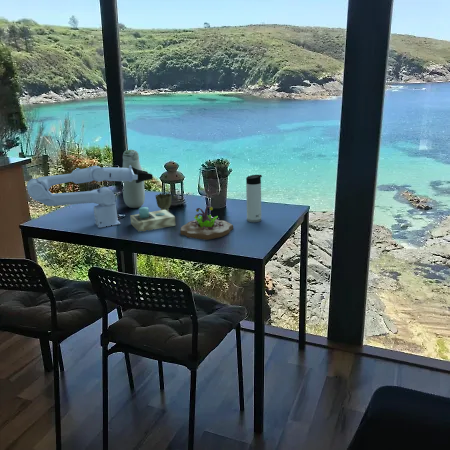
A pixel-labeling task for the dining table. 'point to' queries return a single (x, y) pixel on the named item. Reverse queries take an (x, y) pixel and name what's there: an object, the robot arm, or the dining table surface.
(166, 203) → the cup
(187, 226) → the plant
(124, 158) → the pale grey bottle
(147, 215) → the peg
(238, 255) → the dining table surface
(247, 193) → the travel mug
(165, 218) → the socket block
